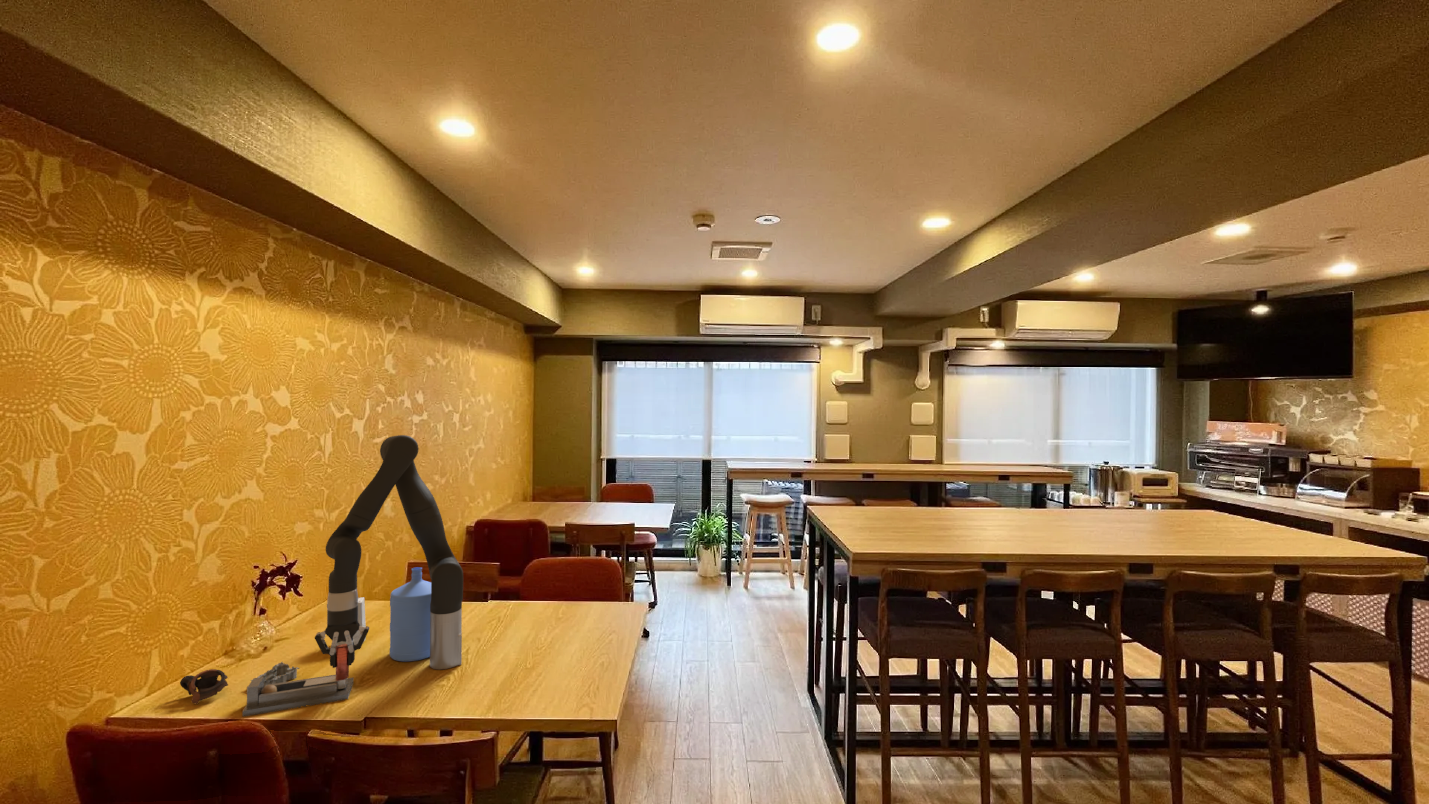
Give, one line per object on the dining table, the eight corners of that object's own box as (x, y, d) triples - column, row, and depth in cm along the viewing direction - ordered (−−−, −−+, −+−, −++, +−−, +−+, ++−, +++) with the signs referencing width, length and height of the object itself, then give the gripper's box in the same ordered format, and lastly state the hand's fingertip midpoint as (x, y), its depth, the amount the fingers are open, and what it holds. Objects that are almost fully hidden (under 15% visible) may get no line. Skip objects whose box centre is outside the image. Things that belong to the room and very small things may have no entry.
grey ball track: (353, 682, 179) (353, 660, 179) (347, 699, 169) (348, 676, 169) (254, 697, 169) (254, 674, 169) (242, 716, 159) (242, 692, 159)
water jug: (421, 664, 192) (421, 576, 192) (378, 660, 195) (378, 573, 195) (451, 645, 207) (452, 563, 207) (411, 641, 210) (412, 561, 210)
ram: (349, 681, 176) (350, 642, 176) (347, 687, 172) (347, 647, 172) (306, 688, 171) (306, 648, 171) (303, 694, 168) (303, 653, 168)
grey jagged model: (283, 673, 185) (283, 660, 185) (302, 677, 183) (302, 663, 183) (247, 689, 175) (248, 675, 175) (267, 693, 173) (267, 678, 173)
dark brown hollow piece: (236, 687, 177) (236, 668, 173) (214, 716, 168) (213, 697, 165) (190, 680, 174) (189, 660, 171) (165, 709, 166) (164, 689, 163)
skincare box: (366, 638, 212) (366, 596, 212) (362, 645, 206) (362, 601, 206) (338, 641, 209) (338, 598, 209) (334, 648, 203) (334, 604, 203)
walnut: (278, 694, 169) (278, 681, 169) (275, 700, 165) (275, 686, 165) (262, 696, 167) (262, 683, 167) (259, 702, 164) (259, 689, 164)
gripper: (372, 598, 180) (371, 656, 180) (316, 604, 174) (315, 664, 174) (369, 606, 173) (368, 666, 173) (311, 613, 167) (310, 675, 167)
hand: (342, 665), depth 173 cm, fingers closed on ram, 3 cm apart
